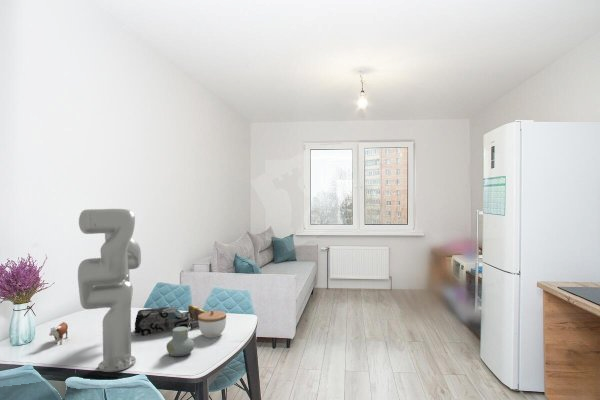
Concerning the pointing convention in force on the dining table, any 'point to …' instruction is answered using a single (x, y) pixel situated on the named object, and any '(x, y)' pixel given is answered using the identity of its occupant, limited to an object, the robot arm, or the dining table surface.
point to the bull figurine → (59, 332)
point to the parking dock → (194, 315)
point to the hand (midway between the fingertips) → (120, 318)
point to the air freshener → (180, 342)
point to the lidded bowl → (212, 323)
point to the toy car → (160, 320)
